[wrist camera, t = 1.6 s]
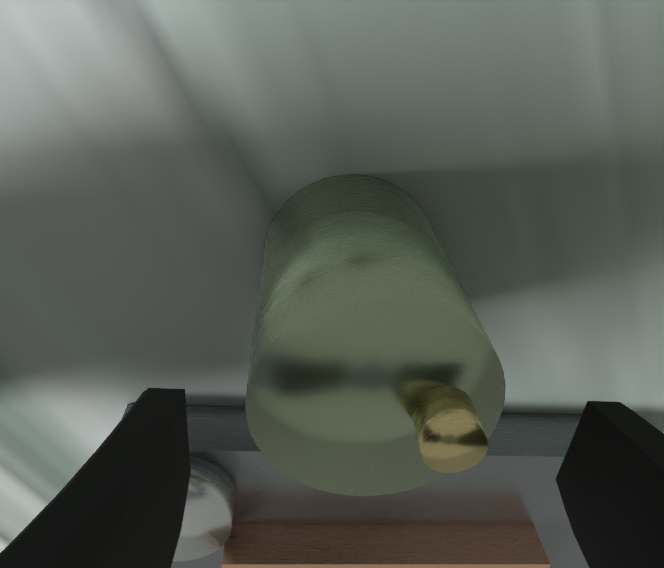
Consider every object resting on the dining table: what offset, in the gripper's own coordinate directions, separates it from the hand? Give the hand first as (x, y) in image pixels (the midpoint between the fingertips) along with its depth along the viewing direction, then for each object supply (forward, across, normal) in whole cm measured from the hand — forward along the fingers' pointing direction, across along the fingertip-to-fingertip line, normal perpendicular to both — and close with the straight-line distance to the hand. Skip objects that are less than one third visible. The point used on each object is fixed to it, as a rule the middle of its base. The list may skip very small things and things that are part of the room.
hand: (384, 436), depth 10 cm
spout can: (+7, 0, 0) cm, 7 cm away
